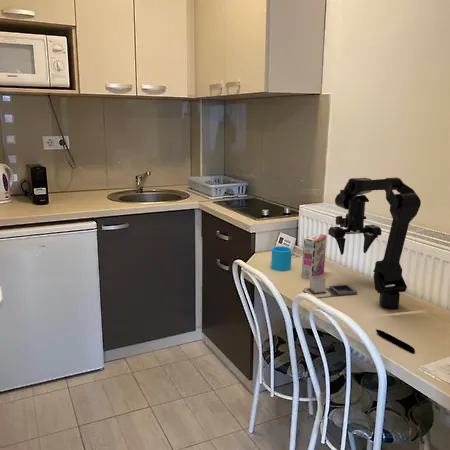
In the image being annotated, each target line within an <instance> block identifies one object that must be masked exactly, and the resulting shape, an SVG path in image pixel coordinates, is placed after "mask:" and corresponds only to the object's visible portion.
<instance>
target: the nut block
mask: <svg viewBox="0 0 450 450" xmlns="http://www.w3.org/2000/svg"><path fill="white" fill-rule="evenodd" d="M326 282H327V281H326V278H325V277H324V276H323V275H322V274H320V275H317V276H310V279H309V288H310V290H309V291H310V292H311V293H312V294H313V295H314V294H325V288H326Z"/></svg>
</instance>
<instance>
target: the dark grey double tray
mask: <svg viewBox="0 0 450 450" xmlns="http://www.w3.org/2000/svg"><path fill="white" fill-rule="evenodd" d="M309 290H310V287H304V288H303V289H302V290H301V291H302V293H304V294H305V293H308V294H311V295H313V294H312V293H311V292H310V291H309ZM358 295H359V294H358V291H357V290H355V289H354V288H353V287H351V286H350V285H349V284H347V283H346V284H337V285H329V287H328V288H327V287H325V294H314V295H313V296H315V297H317V299H324V298H325V299H328V298H338V297H339V298H340V297H347V296H358Z"/></svg>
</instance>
